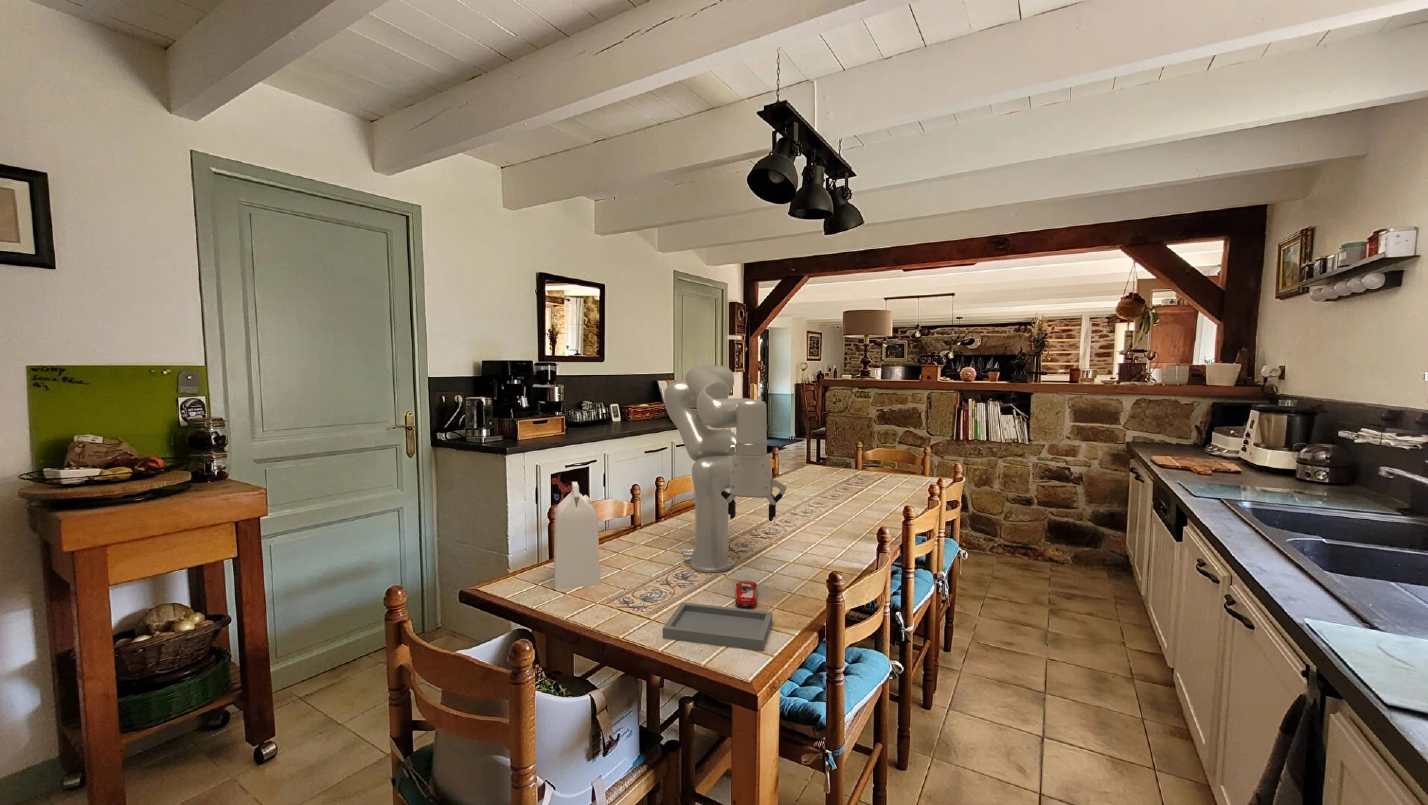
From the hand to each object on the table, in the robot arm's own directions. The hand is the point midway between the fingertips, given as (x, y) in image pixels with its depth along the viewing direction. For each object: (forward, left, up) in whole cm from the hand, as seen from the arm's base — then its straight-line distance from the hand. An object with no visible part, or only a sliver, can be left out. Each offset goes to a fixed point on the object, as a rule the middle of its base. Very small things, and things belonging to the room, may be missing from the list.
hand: (751, 518), depth 137 cm
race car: (-1, -1, -20) cm, 20 cm away
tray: (-4, -19, -20) cm, 28 cm away
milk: (-48, 0, -20) cm, 52 cm away
